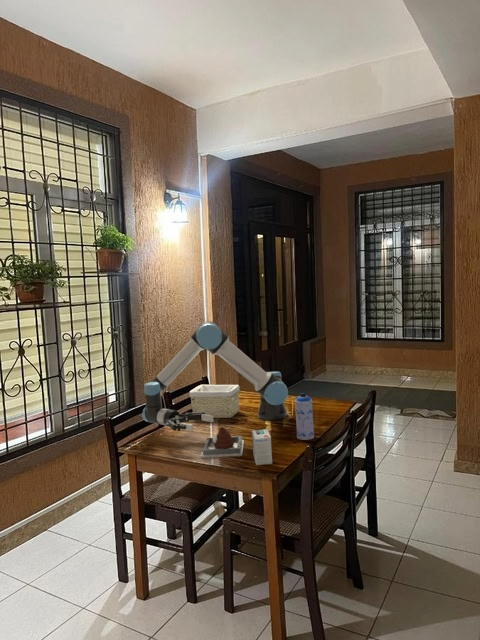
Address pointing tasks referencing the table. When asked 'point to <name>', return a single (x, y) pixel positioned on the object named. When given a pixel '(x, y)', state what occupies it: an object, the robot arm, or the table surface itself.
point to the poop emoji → (223, 439)
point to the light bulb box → (262, 447)
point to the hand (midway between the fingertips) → (202, 423)
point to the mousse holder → (223, 452)
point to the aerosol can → (304, 417)
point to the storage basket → (216, 400)
